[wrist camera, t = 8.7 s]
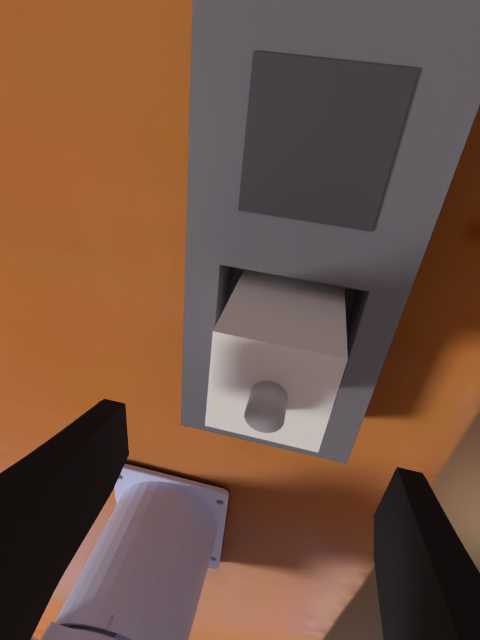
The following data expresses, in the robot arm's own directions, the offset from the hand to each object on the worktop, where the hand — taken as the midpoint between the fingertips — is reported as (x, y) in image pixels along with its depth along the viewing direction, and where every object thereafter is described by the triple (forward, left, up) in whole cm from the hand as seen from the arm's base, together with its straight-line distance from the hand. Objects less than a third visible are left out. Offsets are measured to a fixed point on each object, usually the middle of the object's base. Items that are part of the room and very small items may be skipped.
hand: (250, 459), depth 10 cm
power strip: (+4, 0, -9) cm, 10 cm away
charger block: (0, 0, -8) cm, 9 cm away
